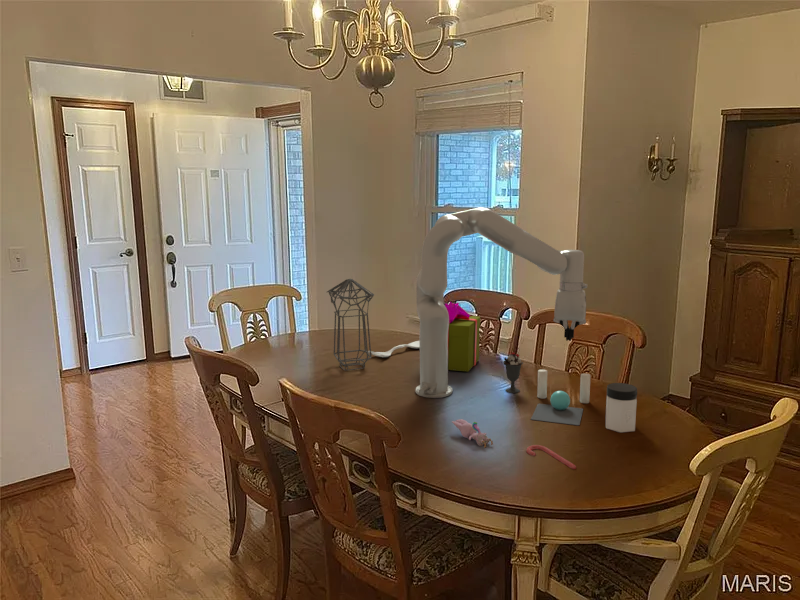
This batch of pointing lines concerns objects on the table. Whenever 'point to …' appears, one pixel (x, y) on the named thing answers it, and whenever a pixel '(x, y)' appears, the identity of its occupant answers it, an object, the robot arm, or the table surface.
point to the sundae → (513, 370)
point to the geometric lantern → (368, 295)
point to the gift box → (462, 338)
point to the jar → (621, 407)
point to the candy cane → (553, 454)
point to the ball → (560, 400)
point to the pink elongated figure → (472, 432)
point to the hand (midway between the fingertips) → (568, 339)
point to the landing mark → (557, 414)
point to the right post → (584, 388)
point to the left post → (542, 384)
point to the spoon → (388, 353)
